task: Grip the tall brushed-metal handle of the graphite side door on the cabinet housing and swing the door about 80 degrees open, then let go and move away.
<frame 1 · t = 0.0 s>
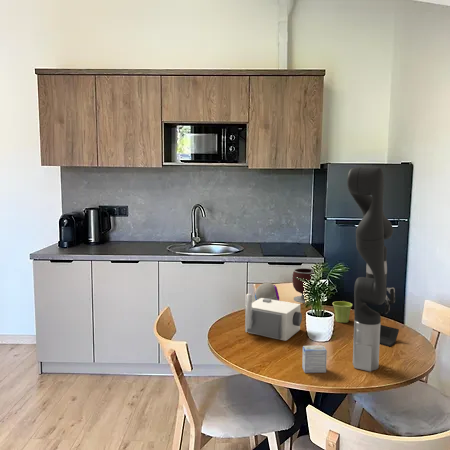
hand: (375, 311, 171), 17 cm above the table, tool pointing down, fingers open, 8 cm apart
cabinet housing: (272, 330, 197), on the table
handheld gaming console: (381, 341, 186), on the table
medicine box: (313, 371, 157), on the table
side door: (262, 316, 187), point 10 cm above the table, hinge at 0.0°
mate gourd: (305, 300, 247), on the table
grey rounded dome: (266, 311, 226), on the table
plant pot: (341, 321, 211), on the table
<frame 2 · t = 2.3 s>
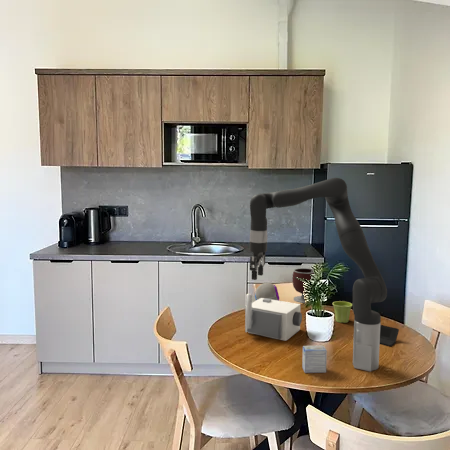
hand: (257, 277, 187), 27 cm above the table, tool pointing down, fingers open, 8 cm apart
nothing on the table moved.
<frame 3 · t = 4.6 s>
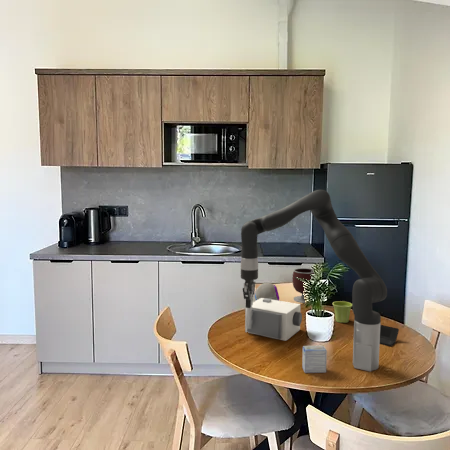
hand: (249, 306, 189), 14 cm above the table, tool pointing down, fingers closed on side door, 2 cm apart
side door: (262, 316, 187), point 10 cm above the table, hinge at 0.1°, touching gripper
everything else where it was.
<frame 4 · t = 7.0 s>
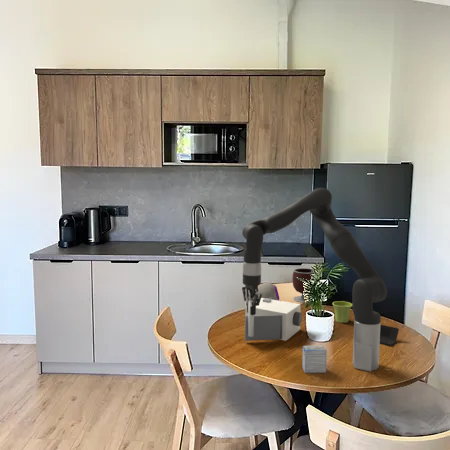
hand: (251, 313, 179), 14 cm above the table, tool pointing down, fingers closed on side door, 2 cm apart
side door: (264, 320, 181), point 10 cm above the table, hinge at 38.8°, touching gripper
everything else where it was.
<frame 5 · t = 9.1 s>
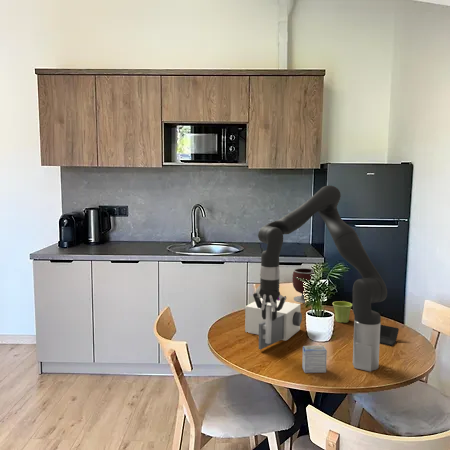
hand: (269, 319, 172), 14 cm above the table, tool pointing down, fingers open, 3 cm apart
side door: (275, 323, 177), point 10 cm above the table, hinge at 78.5°
everything else where it was.
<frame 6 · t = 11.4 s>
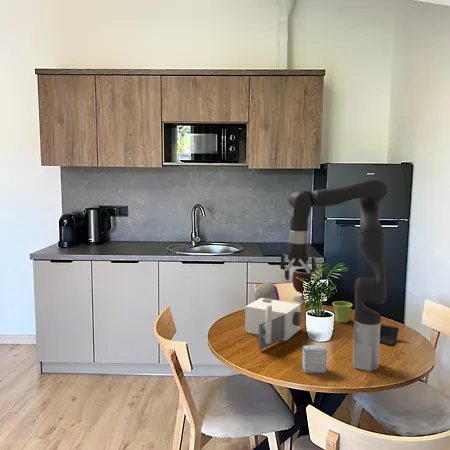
hand: (297, 280, 175), 28 cm above the table, tool pointing down, fingers open, 8 cm apart
nothing on the table moved.
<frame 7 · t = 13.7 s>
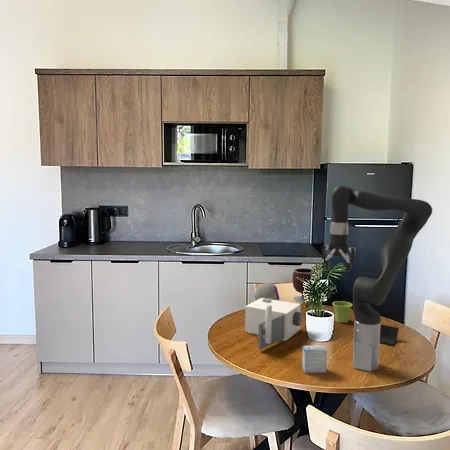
hand: (337, 270, 186), 30 cm above the table, tool pointing down, fingers open, 8 cm apart
nothing on the table moved.
at the end: side door at +78° (first picture: +0°); the gripper is holding nothing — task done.
